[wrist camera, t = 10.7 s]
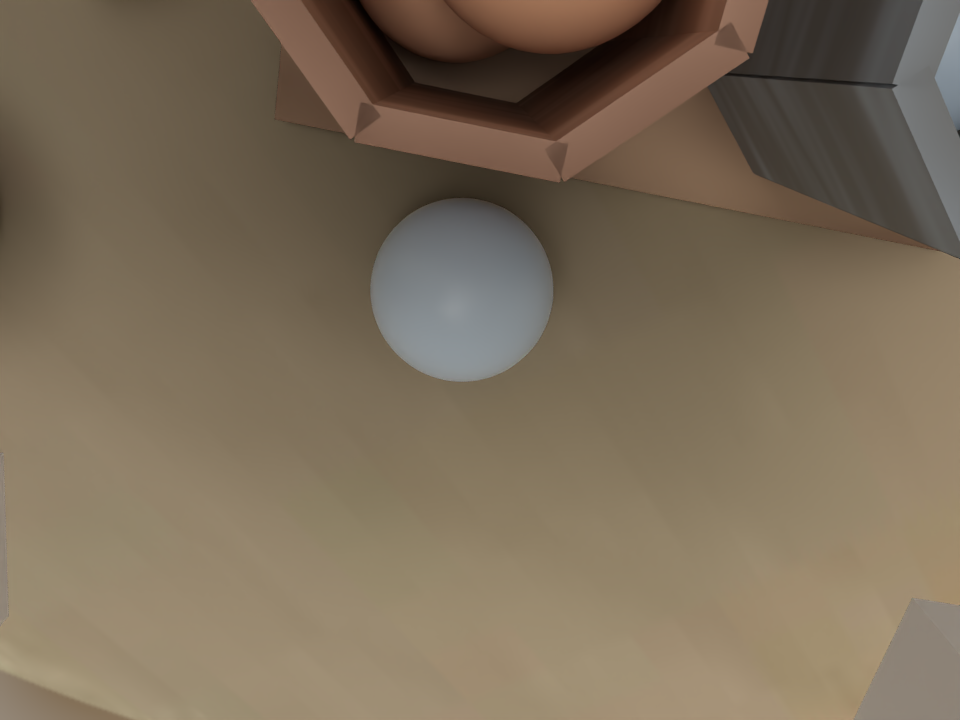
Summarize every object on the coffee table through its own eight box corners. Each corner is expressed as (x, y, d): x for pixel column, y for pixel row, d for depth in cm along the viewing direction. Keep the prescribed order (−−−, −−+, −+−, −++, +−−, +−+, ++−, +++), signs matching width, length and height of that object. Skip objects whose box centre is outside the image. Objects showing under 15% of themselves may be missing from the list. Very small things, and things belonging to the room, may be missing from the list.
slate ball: (393, 169, 27) (374, 199, 21) (561, 202, 27) (585, 239, 22) (369, 328, 29) (346, 394, 23) (525, 356, 29) (538, 426, 24)
